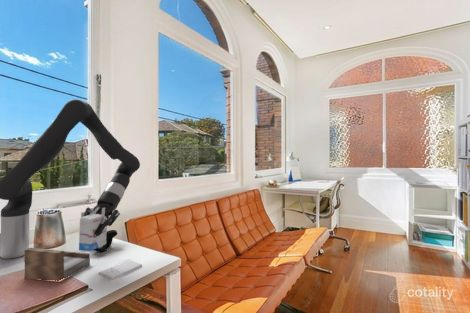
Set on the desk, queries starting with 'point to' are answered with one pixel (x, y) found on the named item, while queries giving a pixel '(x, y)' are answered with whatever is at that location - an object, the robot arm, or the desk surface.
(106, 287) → the desk surface
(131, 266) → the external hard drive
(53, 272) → the brown open tray
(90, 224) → the ink box
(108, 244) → the controller
